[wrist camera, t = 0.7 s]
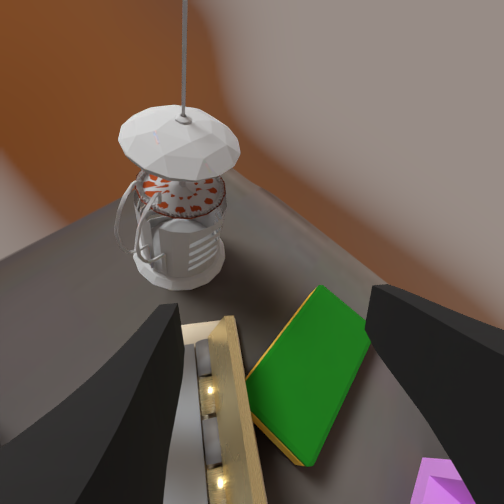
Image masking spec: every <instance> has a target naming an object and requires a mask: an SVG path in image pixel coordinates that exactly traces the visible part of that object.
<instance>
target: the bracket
mask: <svg viewBox="0 0 504 504" xmlns="http://www.w3.org/2000/svg"><path fill="white" fill-rule="evenodd" d="M410 504H476V503H475V502H474V500H473V498H472V496H471V494H470V492H469V491H468V489H467V487H466V485H465V484H464V482H463V480H462V478H461V477H460V475H459V473H458V472H457V470H456V468H455V466H454V465H453V463H452V461H451V460H446V459H435V458H422V462H421V465H420V469H419V473H418V477H417V480H416V484H415V488H414V491H413V495H412V499H411V503H410Z"/></svg>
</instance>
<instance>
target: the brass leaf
mask: <svg viewBox="0 0 504 504" xmlns="http://www.w3.org/2000/svg"><path fill="white" fill-rule="evenodd" d="M208 345H209V353H210V362H211V371H212V376H210V377H206V378H203V379H200V380H199V390H200V401H201V412H202V416H205V415H210V414H215V413H216V414H217V422H218V431H219V440H220V448H221V457H222V464H220V465H217V466H214V467H211V468H209V469H207V479H208V490H209V501H210V504H266V498H265V493H264V487H263V481H262V475H261V470H260V464H259V458H258V452H257V447H256V441H255V435H254V429H253V424H252V418H251V412H250V406H249V401H248V395H247V389H246V383H245V378H244V372H243V366H242V360H241V355H240V349H239V343H238V337H237V332H236V326H235V320H234V316H224V317H223V318H222V320H221V321H220V322H219V323H218V324H217V326H216V327H215V328H214V329H213V331H212V332H211V333H210V334H209V336H208Z"/></svg>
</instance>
